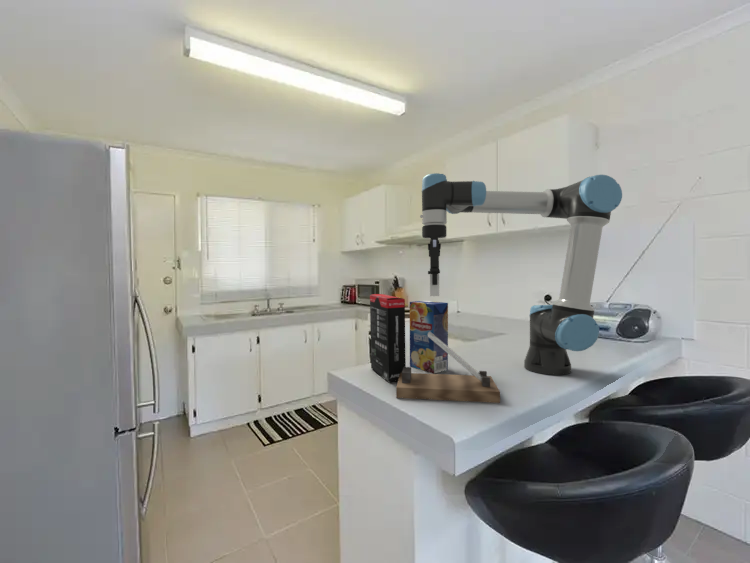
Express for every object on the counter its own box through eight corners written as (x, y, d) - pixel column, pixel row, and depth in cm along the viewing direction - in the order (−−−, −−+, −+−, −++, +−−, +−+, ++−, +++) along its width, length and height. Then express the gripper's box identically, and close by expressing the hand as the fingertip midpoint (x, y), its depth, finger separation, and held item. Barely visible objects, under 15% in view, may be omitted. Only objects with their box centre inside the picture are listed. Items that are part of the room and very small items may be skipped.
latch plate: (490, 385, 109) (490, 366, 109) (500, 402, 95) (500, 380, 95) (400, 381, 113) (400, 363, 113) (396, 397, 99) (396, 376, 99)
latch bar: (483, 381, 105) (486, 378, 104) (485, 385, 101) (488, 382, 100) (427, 333, 106) (429, 331, 106) (427, 336, 102) (429, 333, 102)
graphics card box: (407, 381, 114) (407, 296, 113) (387, 383, 112) (387, 297, 111) (386, 367, 130) (386, 293, 129) (369, 369, 128) (368, 294, 127)
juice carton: (448, 369, 126) (448, 302, 125) (433, 373, 122) (433, 304, 121) (423, 362, 136) (423, 300, 135) (409, 366, 131) (409, 301, 130)
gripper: (422, 229, 123) (423, 291, 124) (421, 220, 100) (421, 297, 101) (444, 228, 122) (444, 291, 123) (448, 219, 99) (448, 297, 100)
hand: (434, 294), depth 112 cm, fingers open, 11 cm apart
